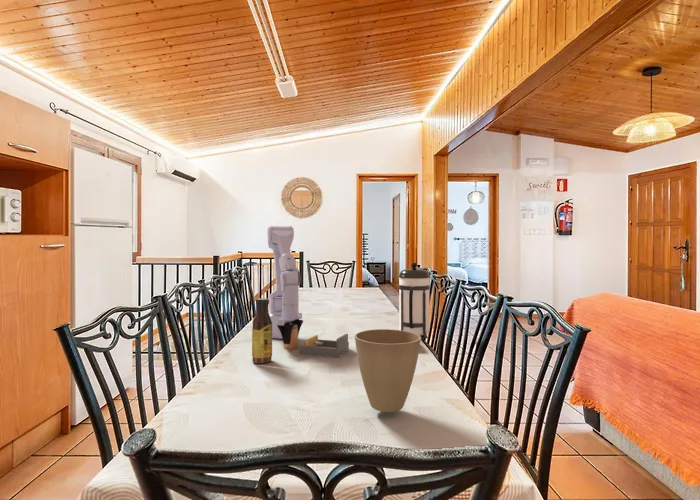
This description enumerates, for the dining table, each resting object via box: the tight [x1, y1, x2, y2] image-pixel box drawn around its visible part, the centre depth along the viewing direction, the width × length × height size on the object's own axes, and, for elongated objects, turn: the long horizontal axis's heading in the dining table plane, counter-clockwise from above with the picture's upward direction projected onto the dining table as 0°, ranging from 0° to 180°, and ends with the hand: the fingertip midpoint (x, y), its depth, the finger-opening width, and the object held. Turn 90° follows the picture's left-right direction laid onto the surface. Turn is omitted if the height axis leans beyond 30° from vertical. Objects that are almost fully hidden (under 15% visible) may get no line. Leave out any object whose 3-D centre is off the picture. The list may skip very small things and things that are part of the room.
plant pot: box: [354, 328, 422, 413], centre depth 88 cm, size 15×15×16 cm
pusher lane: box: [298, 333, 350, 359], centre depth 134 cm, size 14×11×6 cm
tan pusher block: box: [305, 334, 323, 347], centre depth 135 cm, size 4×8×4 cm, turn 161°
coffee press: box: [398, 262, 431, 339], centre depth 156 cm, size 17×16×30 cm
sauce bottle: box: [251, 298, 273, 365], centre depth 123 cm, size 7×6×20 cm
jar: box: [283, 324, 299, 351], centre depth 139 cm, size 5×5×8 cm
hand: (290, 342), depth 139 cm, fingers closed on jar, 5 cm apart
